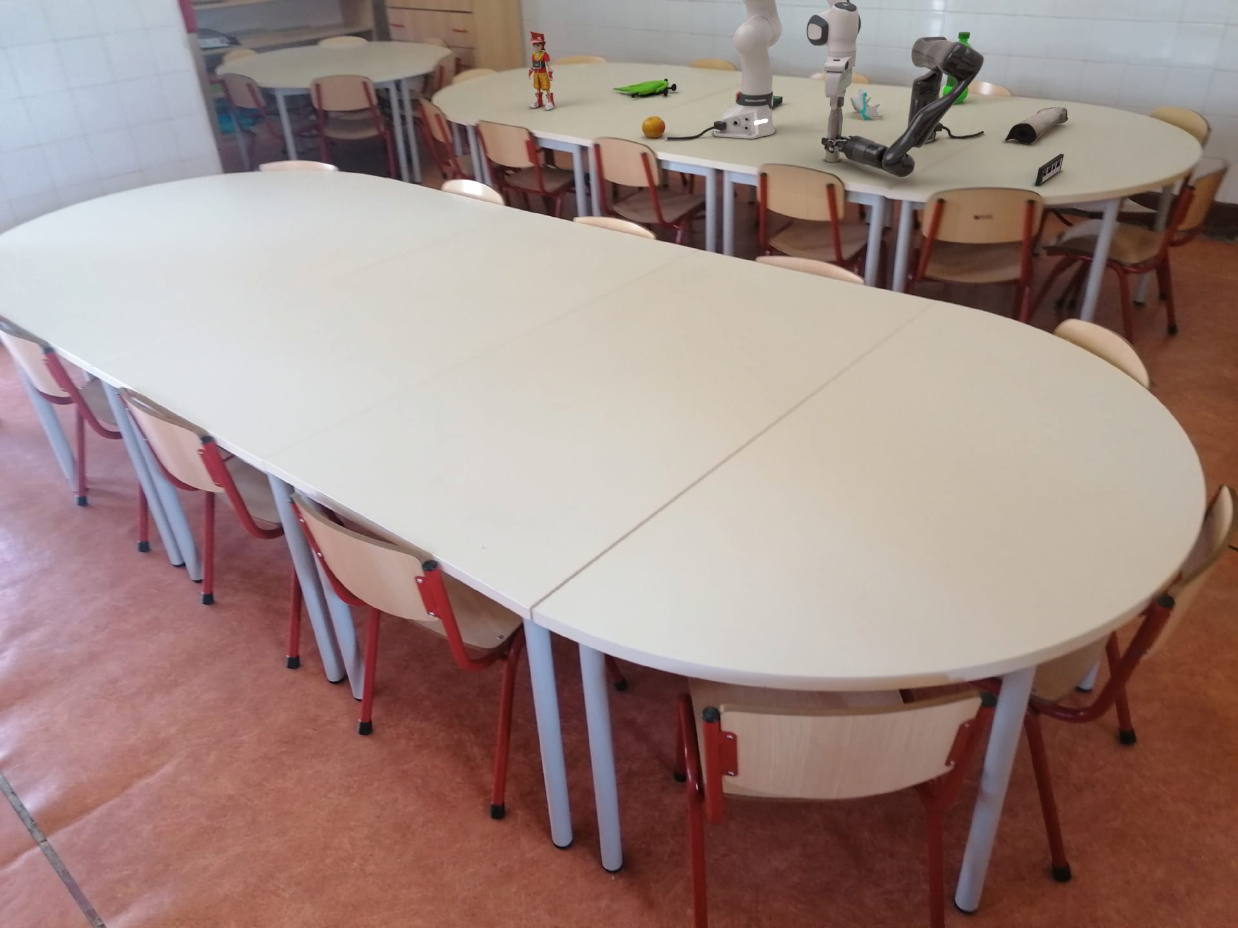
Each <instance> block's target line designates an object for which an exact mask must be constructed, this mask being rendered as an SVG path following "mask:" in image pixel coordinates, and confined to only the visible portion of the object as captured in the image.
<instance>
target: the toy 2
mask: <svg viewBox="0 0 1238 928" xmlns="http://www.w3.org/2000/svg"><path fill="white" fill-rule="evenodd" d="M669 85H670V83H669V79H668V78H664V79H663V80H649V81H644V82H640V83H634V84H629V85H627V86H621V87H613V88H612V89H613V90H616V91H619V92H623V93H627V94H628V93H629V94H631V95H630V96H631V98H632V99H634V98H636V96H637V95H650V94H652V93H654V94H658V93H662V95H663V96H665V97H667V96H668V95H669V90H671V91H672V92H676V91H677V84H676V83H672V84H671V86H669Z"/></svg>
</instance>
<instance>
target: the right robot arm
mask: <svg viewBox="0 0 1238 928" xmlns="http://www.w3.org/2000/svg"><path fill="white" fill-rule="evenodd" d="M971 47H972V46H971ZM971 47H969V46H968V45H966V44H965V43H962V42H959V40H958V41H950V40H948V39H947V38H946V37H945V36H923V37H919V38H917V39H916V40H915V41H914V43H913V45H912V48H911V56H910V57H911V62H912V63H913V65H914V67H916V68H926V69H929V71H928V72H926V73H924V74H923V75H920V76H918V77H915V78H914V79H913V81H912V86H911V95H910V103H909V112H908V119H907V125H906V129H905V130H904V132H903V133H902V134H901V135H900V136H899V137H898V138H897V139H896V140H895V141H894V142H892V144H891V145H890V146H886V145H885V144H882V143H879V142H876V141H874V140H872V139H869V138H866V137H863V136H859V135H848V136H846V135H843V136H842V135H841V140H839V139H835V140H831V139H828V138H827V137H825V136H824V137H821V139H820V140H821V141H820V145H823V146H824V147H823V148H824V150H825V151H826V150H827V151H828V152H830V153H834V151H839V152H840V154H844V156H845V158H846V159H848V160H850V161H853V162H855V163H859V164H862V165H866V166H870V167H872V168H875V169H880V170H882V171H884V172H886V173H888V174H890V175H893V176H895V177H897V178H906V177H908V176H910V175H911V174H912V173H913V172H914V170H915V167H916V162H915V159H914V158H913V156H912V155H911V154H909V151H910V150H912V149H913V148H914V149H921V148H922V147H923V146H924V145H925V144H929V143H932V142H933V141H935V140H936V138H937V137H936V136H937V133H938V132H942V131H943V130H944V131H946V132H947V135H948V137H949V138H951V139H956V140H957V139H958V140H963V139H971V138H976V137H978V136H981V135H984V134H985V131H984V130H981V131H978V132H977V133H973V134H966V135H954V134H952V132H951V129H950V127H947V126H945V125H943V123H942V122H941V120H942V119H943V117H944V116H945V115H946V114H947V113H948V111H949V110H950V109H951V108H952V107H953V106H954V105H955V104H956V103H955V102H956V101H957V99H958V98H959V97H960V96H961V94H962V93H963V92H964V91H965V90H966V88H967V87H968V88H969V86H970V85H971V84H972V82H973V81H974V80H975V79H976V78H977V76H978V74H979V73H980V71H981V69H982V67H983V65H984V63H985V56H984V55H983V54H982V53H980V52H979V51H977V50H976V49H974V48H973V47H972V48H973V49H972V48H971ZM944 75H945V76H946V77H948V76H949V77H950V78H952V79H954V80H955V81H956V84H955V85H954V87H953V88H952V89H951V90H950V91H949V92H948V93H947V94H945V95H944V96H943V95H942V96H941V97H940V95H941V87H942V82H943V77H944ZM837 142H838V144H837ZM832 143H833V144H832Z"/></svg>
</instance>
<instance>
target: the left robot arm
mask: <svg viewBox="0 0 1238 928" xmlns="http://www.w3.org/2000/svg"><path fill="white" fill-rule="evenodd" d="M826 1H827V4H828V6H829V8H828V9H827V10H824V11H821V12H818V13H816V14H813V15H811V17H810V18H809V20H808V21H807V25H806V38H807V40H808V41H809V43H810V44H811V45H812V46H815V47H824V46H827V54H826V60H825V63H824V66H823V71H824V72H825V74H824V75H825V76H824V95H825V97H826V98H829V102H830V101H831V106H830V110H831V109H832V110H836V109H837V106H838V103H837V98H838V97H844V98H845V96H846V92H847V88H849V86H851V84H852V80H853V68H854V67H855V66H856V58H857V57H856V56H857V39H858V35H859V33H860V31H861V29H862V19H861V16H860V14H859V10H858V6H857V5H856V4H854V3H852V2H851V1H850V0H826ZM742 2H743V3H744V5H745V9H746V12H747V19H748V20H746V21H744V22H743V23H741V24H740V25H739V27H738V28H737V29H736V30H735V33H734V35H733V43H734V47H735V49H736V50H737V52H738V55H739V61H740V67H741V90H737V91H736V92H735V103H734V104H733V105H732V106H730V107H729V108H727V110H726V111H724V113H722V114H721V117H720V120H716V121H713V126H710V127H708V128H706V129H704V130H703V131H701V132H700V133H698V134H695V135H691V136H667V137H666V140H667V141H685V140H694V139H697V138H700V137H702V136H703V135H704V134H706V133H707V132H709V131H712V130H713V135H714V136H715V137H721V138H722V137H723V138H736V139H737V138H738V139H750V140H753V139H754V140H755V139H758V138H761V137H766V136H770V135H773V134H774V133H775V132H776V131H775V127H774V120H773V108H772V106H773V96H774V91H773V77H774V76H773V75H774V68H773V66H772V64H771V61H770V55H769V48H770V47H773V46H774V45H775V44H776V43H777V42H778V41H779V40H780V38H781V37H782V34H783V30H784V29H783V28H784V27H783V23H782V20H781V19H780V17H779V13H778V7H777V4H776V0H742Z"/></svg>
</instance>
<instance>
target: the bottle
mask: <svg viewBox="0 0 1238 928" xmlns="http://www.w3.org/2000/svg"><path fill="white" fill-rule="evenodd" d="M842 108H843V106H842V107H837V109H836V110H832V109H831V108H830V110H829V115H828V120H827V132H826V138H828V139H831V140H835V139H839V140H841V136H842V134H843V123H844V122H843V121H844V114H843V109H842ZM832 144H833V143H832ZM837 144H838V142H837ZM840 157H841V152H839V151H834V153H830V152H828V151H827V150H825V156H824V158H825V159H824V161H825V162H827V163H837V162H839V161H840Z"/></svg>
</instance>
